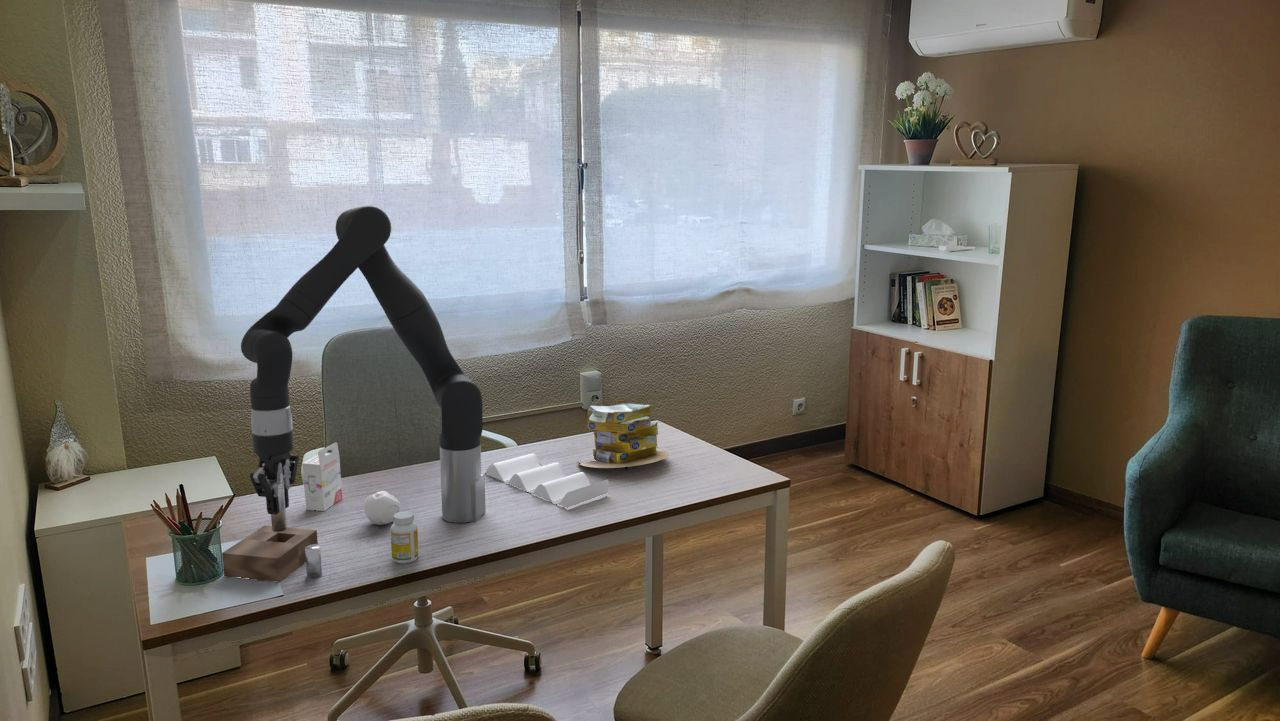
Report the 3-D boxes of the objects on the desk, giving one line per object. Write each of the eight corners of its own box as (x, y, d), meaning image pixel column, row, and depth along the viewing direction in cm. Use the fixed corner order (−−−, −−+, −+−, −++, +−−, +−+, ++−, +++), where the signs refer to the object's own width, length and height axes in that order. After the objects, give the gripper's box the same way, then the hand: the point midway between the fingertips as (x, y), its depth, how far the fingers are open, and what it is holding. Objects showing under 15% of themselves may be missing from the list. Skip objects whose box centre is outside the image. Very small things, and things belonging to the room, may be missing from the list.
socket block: (318, 552, 183) (316, 530, 182) (279, 582, 169) (277, 558, 168) (266, 547, 185) (264, 525, 184) (224, 576, 171) (221, 553, 170)
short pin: (324, 573, 173) (322, 545, 172) (317, 579, 171) (315, 550, 169) (311, 571, 174) (309, 543, 172) (304, 578, 171) (302, 549, 170)
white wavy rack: (523, 465, 241) (523, 447, 240) (608, 499, 216) (608, 479, 215) (483, 475, 232) (482, 457, 231) (567, 512, 207) (567, 492, 206)
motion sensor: (406, 518, 201) (404, 486, 199) (391, 531, 194) (390, 498, 192) (373, 516, 202) (372, 484, 201) (358, 528, 195) (356, 496, 193)
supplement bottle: (401, 566, 177) (399, 522, 175) (386, 558, 180) (384, 515, 178) (424, 557, 181) (422, 514, 179) (408, 550, 184) (406, 507, 182)
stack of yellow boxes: (562, 458, 245) (562, 401, 241) (637, 445, 257) (638, 390, 254) (606, 485, 224) (606, 423, 221) (685, 469, 237) (686, 409, 233)
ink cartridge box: (324, 497, 214) (320, 439, 210) (343, 499, 213) (339, 441, 210) (304, 510, 205) (300, 450, 202) (323, 512, 204) (319, 452, 201)
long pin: (289, 527, 178) (285, 466, 176) (281, 532, 176) (277, 471, 173) (277, 525, 179) (272, 465, 176) (269, 531, 176) (264, 470, 174)
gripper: (268, 440, 166) (275, 525, 169) (308, 420, 179) (314, 499, 183) (233, 437, 167) (240, 522, 170) (275, 418, 180) (281, 497, 184)
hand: (278, 510), depth 176 cm, fingers closed on long pin, 2 cm apart
